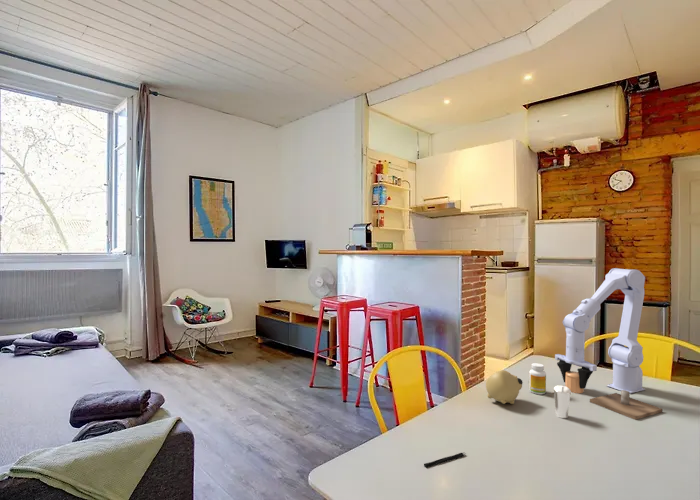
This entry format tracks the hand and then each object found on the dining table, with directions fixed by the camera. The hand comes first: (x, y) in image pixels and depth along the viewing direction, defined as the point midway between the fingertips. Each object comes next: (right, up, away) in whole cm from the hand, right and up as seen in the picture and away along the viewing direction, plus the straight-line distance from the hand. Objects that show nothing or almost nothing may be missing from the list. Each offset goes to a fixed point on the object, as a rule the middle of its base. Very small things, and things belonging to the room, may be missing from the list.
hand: (574, 384), depth 137 cm
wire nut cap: (0, -2, 0) cm, 2 cm away
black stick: (-58, -2, -46) cm, 74 cm away
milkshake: (-17, -2, -22) cm, 27 cm away
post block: (+8, -2, -14) cm, 16 cm away
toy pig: (-30, -2, -11) cm, 32 cm away
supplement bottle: (-14, -2, -2) cm, 15 cm away
